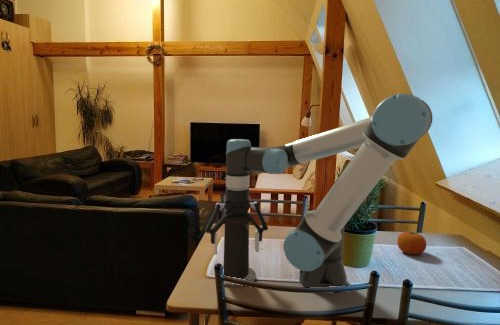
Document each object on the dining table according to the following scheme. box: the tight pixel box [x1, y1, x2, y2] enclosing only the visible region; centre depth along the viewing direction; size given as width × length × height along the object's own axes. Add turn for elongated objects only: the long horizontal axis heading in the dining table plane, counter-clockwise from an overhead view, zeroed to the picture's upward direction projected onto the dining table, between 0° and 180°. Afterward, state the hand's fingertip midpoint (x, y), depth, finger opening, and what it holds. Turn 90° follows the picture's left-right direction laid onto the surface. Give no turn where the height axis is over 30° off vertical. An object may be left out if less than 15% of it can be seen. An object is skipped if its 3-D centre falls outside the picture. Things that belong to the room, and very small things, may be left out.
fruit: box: [396, 231, 427, 256], centre depth 139 cm, size 11×10×8 cm
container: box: [222, 215, 251, 278], centre depth 113 cm, size 9×9×20 cm
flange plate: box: [225, 267, 257, 288], centre depth 114 cm, size 13×13×1 cm
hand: (236, 251), depth 113 cm, fingers open, 13 cm apart
